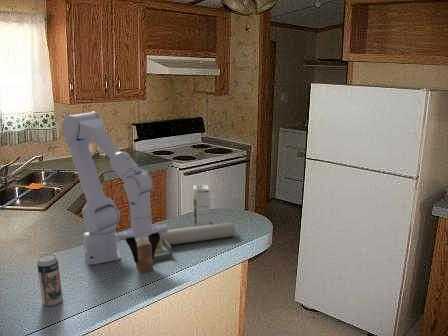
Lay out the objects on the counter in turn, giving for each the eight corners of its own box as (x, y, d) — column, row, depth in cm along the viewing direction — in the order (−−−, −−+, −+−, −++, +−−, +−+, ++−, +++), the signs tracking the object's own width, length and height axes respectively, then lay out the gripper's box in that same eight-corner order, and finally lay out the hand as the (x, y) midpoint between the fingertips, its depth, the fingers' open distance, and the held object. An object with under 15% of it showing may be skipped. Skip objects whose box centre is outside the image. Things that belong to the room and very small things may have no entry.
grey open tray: (172, 257, 129) (172, 246, 128) (150, 262, 126) (149, 251, 125) (161, 242, 139) (161, 232, 139) (140, 246, 137) (140, 236, 136)
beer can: (48, 309, 103) (41, 264, 100) (38, 302, 106) (32, 258, 103) (66, 301, 106) (61, 257, 103) (57, 294, 109) (51, 251, 106)
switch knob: (161, 246, 132) (160, 237, 131) (151, 248, 131) (151, 239, 130) (159, 244, 133) (159, 236, 133) (150, 246, 132) (150, 237, 132)
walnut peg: (139, 273, 119) (137, 247, 117) (136, 267, 123) (134, 242, 121) (153, 270, 121) (151, 244, 119) (149, 264, 125) (147, 239, 123)
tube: (231, 221, 146) (158, 229, 139) (236, 221, 141) (161, 230, 134) (232, 236, 146) (160, 246, 139) (237, 237, 141) (162, 247, 133)
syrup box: (193, 222, 156) (192, 184, 153) (209, 221, 157) (208, 184, 153) (194, 228, 151) (192, 189, 147) (210, 227, 151) (209, 188, 148)
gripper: (117, 224, 112) (121, 271, 115) (170, 215, 117) (172, 260, 121) (112, 215, 118) (116, 260, 121) (163, 207, 123) (165, 250, 127)
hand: (143, 259), depth 121 cm, fingers closed on walnut peg, 4 cm apart
